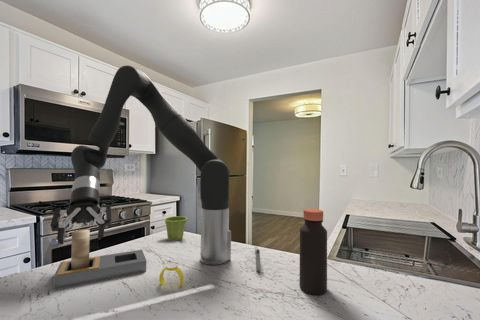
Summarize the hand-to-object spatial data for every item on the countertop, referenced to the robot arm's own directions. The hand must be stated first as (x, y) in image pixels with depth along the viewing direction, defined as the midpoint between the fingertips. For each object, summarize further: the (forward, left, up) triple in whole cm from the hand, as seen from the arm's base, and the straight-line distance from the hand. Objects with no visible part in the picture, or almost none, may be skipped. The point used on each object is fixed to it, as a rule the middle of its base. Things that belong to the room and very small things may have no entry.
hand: (81, 240), depth 63 cm
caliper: (-51, +10, -11) cm, 53 cm away
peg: (0, 0, -10) cm, 10 cm away
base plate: (-5, 0, -11) cm, 12 cm away
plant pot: (-31, -24, -11) cm, 41 cm away
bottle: (-52, +33, -11) cm, 63 cm away
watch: (-20, +16, -11) cm, 28 cm away
